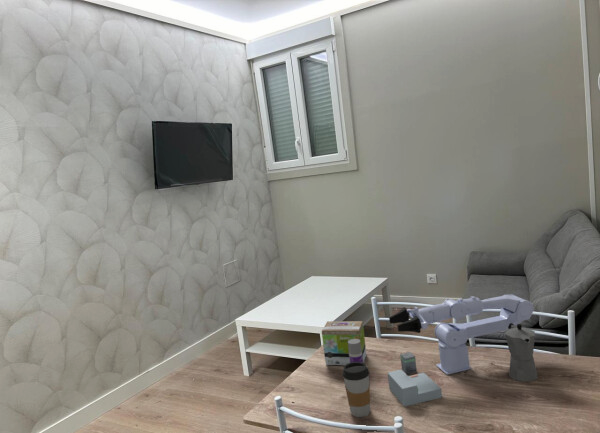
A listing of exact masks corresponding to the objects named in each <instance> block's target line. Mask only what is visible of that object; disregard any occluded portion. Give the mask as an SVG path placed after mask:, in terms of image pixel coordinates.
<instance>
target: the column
mask: <svg viewBox="0 0 600 433" xmlns="http://www.w3.org/2000/svg"><path fill="white" fill-rule="evenodd" d="M399 358H400V367H401V370H402V371H403V372H404V373H405V374H406V375H409V374H414V373H417V372H418V371H417V362H416V361H417V359H416V355H414V354H413V352H411V351H408V352H404V353H400V356H399Z"/></svg>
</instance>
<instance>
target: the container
mask: <svg viewBox="0 0 600 433" xmlns="http://www.w3.org/2000/svg"><path fill="white" fill-rule="evenodd" d="M348 349H349V358H350V363H351V362H362V363H363V356H362V349H361V342H360V340H359V339H351V340H349V341H348Z"/></svg>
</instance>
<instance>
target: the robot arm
mask: <svg viewBox="0 0 600 433" xmlns="http://www.w3.org/2000/svg"><path fill="white" fill-rule="evenodd" d="M534 307H535V306H534V304H533V303H532V302H531V301H530V300H527V299H524V298H522V297H519V296H517V295H516V294H512V293H510V294H503V295H501V296H495V297H489V298H485V299H480V298H479V297H476V296H473V295H472V296H470V298H464V299H463V298H457V300H455V299H452V298H447V299H445V300H444V301H443V302H442V303H438V304H434V305H431V306H426V307H422V308H418V307H417V306H414V307H413V309H410V308H407V307H405V306H404V307H402V308H401V309H400V310H399V311H398V312H396V313H395V314H392V315H391V316H389V317H388V320H389V323H390V324H397V325H396V326H397V331H398V332H412V333H417V334H421V331H422V330H426V329H429V325H431V324H434V323H438V322H439V323H438V324H436V326H435V327H434V330H433V331H434V336H435V337H436V339H438V350H439V352H438V353H439V361H440V363H437V364H436V365H435V366H436V367H437V368H438V369H440V370H441V371H442V372H444V374H445V375H446V376H447V375H452V374H457V373H460V372H465V371H469V370H471V369H472V368H471V366H470V357H469V349H468V346H467V344H466V343H467V341H468V339H472V338H476V337H481V336H486V335H489V334H494V333H495V334H496V333H500V332H506V330H508V326H509V324H510V323H512V324H514V325H516V326H517V324H521V323H522V322H523V321H526V320H530V318H531V317H532V315H533V312H534V309H535V308H534ZM493 309H500V312H499V315H498V316H497V315H496V316H491V317H488V318H483V319H482V318H481V319H478V320H474V321H469V322H465V323H457V322H456V323H454V322H449V323H447V322H441V321H446V320H450V319H455V320H462V319H463V318H464V317H465V316H473V315H479V314H482V313H483V311H484V310H493ZM421 329H422V330H421Z"/></svg>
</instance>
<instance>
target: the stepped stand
mask: <svg viewBox="0 0 600 433" xmlns="http://www.w3.org/2000/svg"><path fill="white" fill-rule="evenodd" d="M387 381H388V389H389V390H390V391H391V393H392V394H393V395H394V396H395V397H396V399H397V400H398V401H399V402H400V403H401V404H402V405H401V406H403V407H409V406H413V405H416V404H417V405H418V404H421V403H425V402H430V401H433V400H437V399H441V398H443V394H442V388H441V387H440V386H439V385H438V384H437V383H436V382H435V381H434V380H432V379H431V378H430V376H428V375H427V374H426V373H425V372H421V373H420V372H419V373H416V374H413V375H412V374H411V375H408V374H406V373H405V372H404V371H403V370H402V369H397V370H394V371H393V370H392V371H389V372H387Z"/></svg>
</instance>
